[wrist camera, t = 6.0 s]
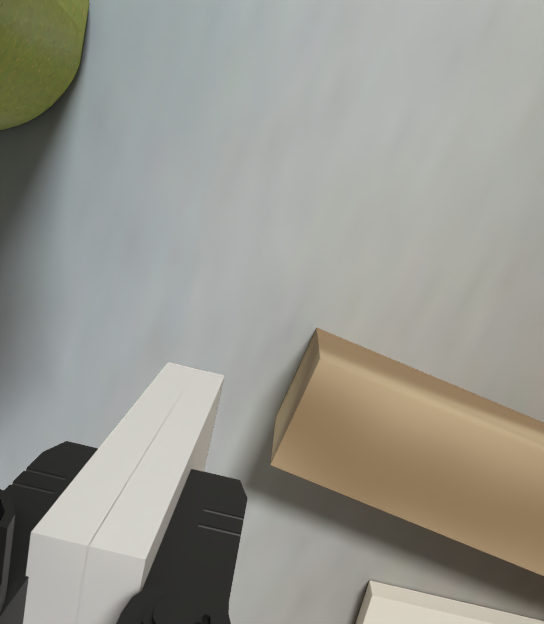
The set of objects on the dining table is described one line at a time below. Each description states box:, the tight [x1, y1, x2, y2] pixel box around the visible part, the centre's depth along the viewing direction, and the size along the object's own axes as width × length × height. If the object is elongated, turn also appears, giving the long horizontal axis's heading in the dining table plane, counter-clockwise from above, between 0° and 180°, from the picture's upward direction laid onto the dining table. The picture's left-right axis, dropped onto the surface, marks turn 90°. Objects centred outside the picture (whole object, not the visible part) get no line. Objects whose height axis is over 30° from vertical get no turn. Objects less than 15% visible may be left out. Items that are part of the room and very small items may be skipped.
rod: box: [271, 328, 544, 576], centre depth 13 cm, size 3×14×3 cm, turn 68°
